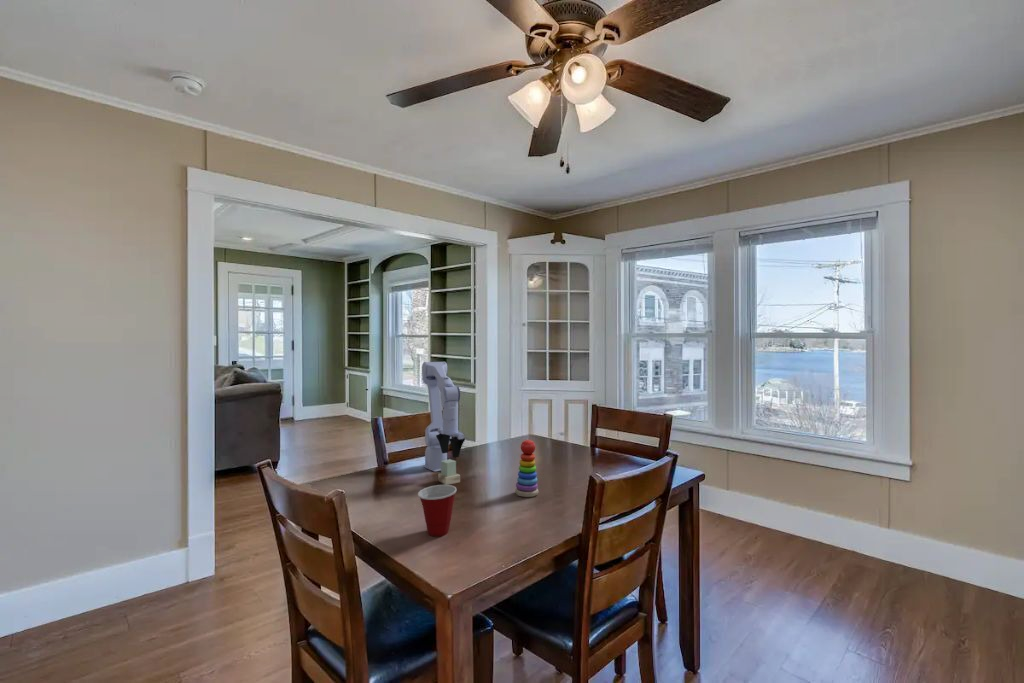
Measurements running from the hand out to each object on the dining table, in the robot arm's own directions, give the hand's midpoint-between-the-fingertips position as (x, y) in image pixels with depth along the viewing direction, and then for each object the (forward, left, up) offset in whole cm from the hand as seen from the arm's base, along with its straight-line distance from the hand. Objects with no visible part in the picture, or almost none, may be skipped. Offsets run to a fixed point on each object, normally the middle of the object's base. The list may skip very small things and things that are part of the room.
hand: (450, 455), depth 174 cm
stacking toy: (+29, +12, -10) cm, 33 cm away
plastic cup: (+35, -28, -10) cm, 45 cm away
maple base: (0, 0, -10) cm, 10 cm away
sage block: (0, -1, -7) cm, 7 cm away
